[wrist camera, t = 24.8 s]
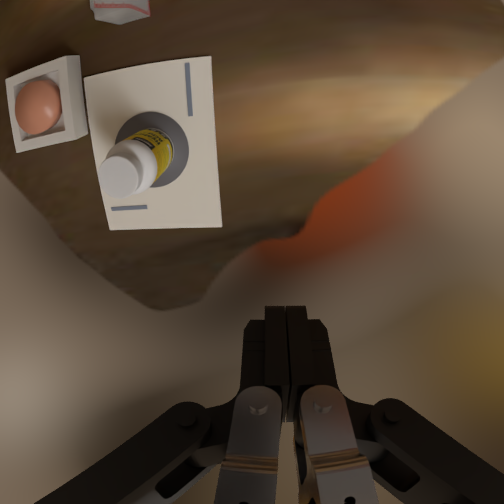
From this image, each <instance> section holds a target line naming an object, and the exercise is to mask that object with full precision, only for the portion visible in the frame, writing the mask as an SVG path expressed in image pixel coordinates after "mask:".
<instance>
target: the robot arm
mask: <svg viewBox="0 0 504 504" xmlns="http://www.w3.org/2000/svg"><path fill="white" fill-rule="evenodd" d="M285 416H286V420H287V422H293V424H294V435H293V448H294V456H295V463H296V471H297V478H298V488H299V492H298V503H299V504H379V501H378V497H377V493H376V489H375V484H374V480H375V481H376V482H377V483H379V484H380V485H381V486H382V487H384V488H385V489H386V490H387V491H389V492H390V493H391V494H392V495H394V496H395V497H396V498H397V499H399V500H400V501H401V502H403V503H404V504H504V474H503V473H501V472H500V471H498V470H497V469H495V468H494V467H493V466H491V465H490V464H488V463H487V462H485V461H484V460H482V459H481V458H480V457H478V456H477V455H475V454H474V453H472V452H471V451H470V450H468V449H467V448H466V447H464V446H463V445H461V444H460V443H458V442H457V441H456V440H454V439H453V438H452V437H450V436H449V435H447V434H446V433H445V432H443V431H442V430H440V429H439V428H438V427H436V426H435V425H434V424H432V423H431V422H429V421H428V420H427V419H426V418H424V417H423V416H421V415H420V414H419V413H417V412H416V411H415V410H413V409H412V408H411V407H409V406H408V405H406V404H405V403H404V402H402V401H400V400H398V399H393V398H387V399H383V400H381V401H379V402H377V403H376V404H375V405H369V404H363V403H358V402H355V401H352V400H350V399H348V398H347V397H346V396H344V395H343V394H342V392H340V390H339V387H338V384H337V380H336V374H335V368H334V363H333V358H332V352H331V347H330V342H329V337H328V332H327V328H326V327H325V326H324V325H323V323H322V322H321V321H320V320H319V319H311V320H308V318H307V311H306V306H286V307H284V306H265V320H250V321H249V323H248V324H247V326H246V328H245V329H244V337H243V353H242V365H241V380H240V389H239V391H238V393H237V395H236V396H235V397H234V398H233V399H232V400H231V401H229V402H227V403H225V404H223V405H220V406H215V407H211V408H206V409H205V408H204V407H203V406H202V405H200V404H198V403H194V402H181V403H178V404H176V405H174V406H172V407H171V408H170V409H168V410H167V411H166V412H165V413H163V414H162V415H161V416H159V417H158V418H157V419H155V420H154V421H153V422H152V423H150V424H149V425H148V426H146V427H145V428H144V429H142V430H141V431H140V432H138V433H137V434H136V435H134V436H133V437H131V438H130V439H129V440H127V441H126V442H125V443H123V444H122V445H120V446H119V447H118V448H116V449H115V450H113V451H112V452H111V453H109V454H108V455H106V456H105V457H104V458H102V459H101V460H99V461H98V462H96V463H95V464H94V465H92V466H91V467H89V468H88V469H87V470H85V471H83V472H82V473H80V474H79V475H78V476H76V477H74V478H73V479H71V480H70V481H68V482H67V483H65V484H64V485H62V486H61V487H59V488H58V489H56V490H55V491H53V492H51V493H50V494H48V495H47V496H45V497H43V498H42V499H40V500H39V501H37V502H35V503H34V504H171V503H173V502H174V501H175V500H176V499H177V498H179V497H180V496H181V495H182V494H184V493H185V492H186V491H187V490H188V489H190V488H191V487H192V486H193V485H194V484H195V483H197V482H198V481H199V480H200V479H201V478H202V477H204V476H205V475H206V474H207V473H208V472H209V471H210V470H211V469H212V468H214V467H215V466H216V465H217V464H221V463H222V464H221V468H220V473H219V478H218V485H217V489H216V495H215V500H214V504H275V496H276V484H277V472H278V453H279V439H280V434H281V426H282V422H285ZM373 479H374V480H373Z"/></svg>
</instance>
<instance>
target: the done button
mask: <svg viewBox="0 0 504 504" xmlns="http://www.w3.org/2000/svg"><path fill="white" fill-rule="evenodd" d="M61 114H62V104H61V95H60V89H59V87H58V86H57V85H56V84H55V83H54V82H52V81H50V80H39V81H34V82H30V83H28V84H27V85H25V86H24V87H23V88H22V89H21V91H20V92H19V94H18V96H17V99H16V103H15V116H16V120H17V122H18V124H19V126H20V127H21V129H22V130H23V131H25V132H26V133H28V134H39V133H41V132H43V131H46V130H48V129H50V128H52V127H53V126H54V125H55V124H56V123H57V122H58V120H59V119H60V117H61Z"/></svg>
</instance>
